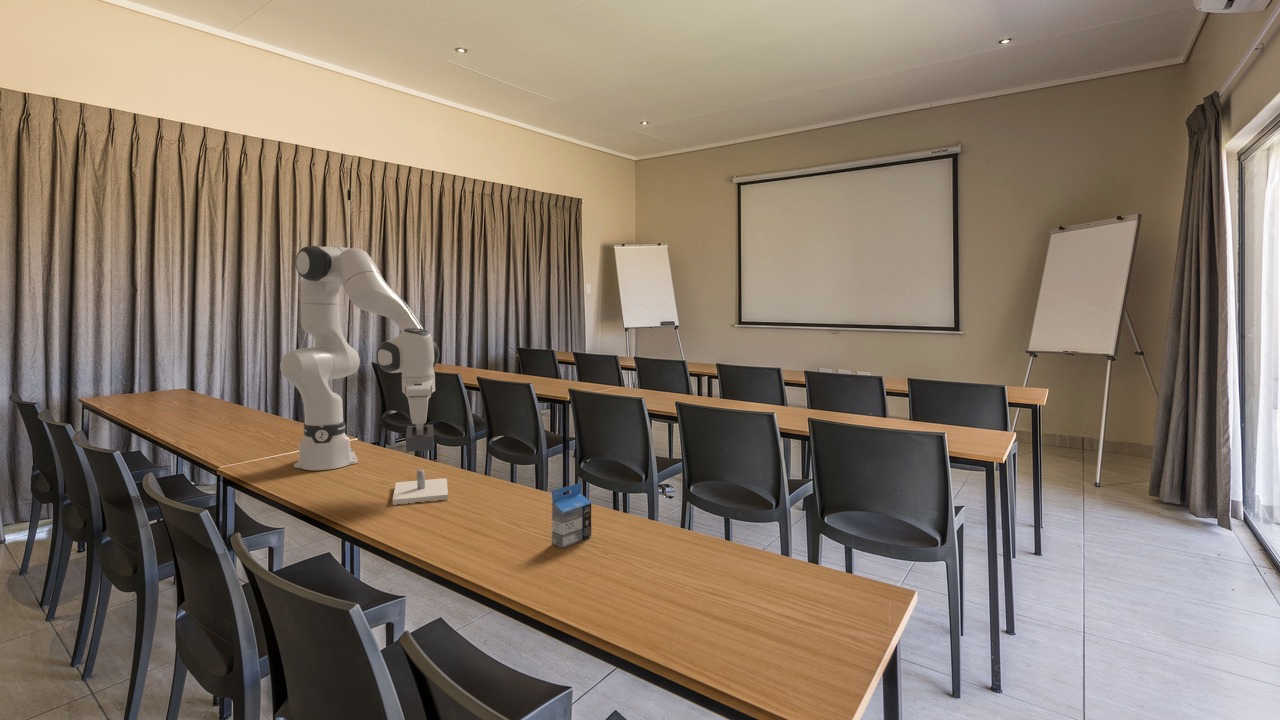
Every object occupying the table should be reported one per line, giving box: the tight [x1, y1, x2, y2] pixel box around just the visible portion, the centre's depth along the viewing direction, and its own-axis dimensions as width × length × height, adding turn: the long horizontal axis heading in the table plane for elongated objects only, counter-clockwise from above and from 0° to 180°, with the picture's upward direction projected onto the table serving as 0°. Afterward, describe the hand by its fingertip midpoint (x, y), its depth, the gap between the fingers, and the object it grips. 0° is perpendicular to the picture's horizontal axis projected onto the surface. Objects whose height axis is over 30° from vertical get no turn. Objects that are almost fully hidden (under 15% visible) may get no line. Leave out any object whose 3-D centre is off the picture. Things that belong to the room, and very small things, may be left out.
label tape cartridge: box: [551, 482, 592, 549], centre depth 137 cm, size 9×4×12 cm, turn 138°
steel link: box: [405, 424, 435, 453], centre depth 169 cm, size 10×7×4 cm
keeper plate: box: [392, 469, 449, 506], centre depth 170 cm, size 16×14×6 cm
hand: (420, 433), depth 172 cm, fingers closed on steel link, 2 cm apart
